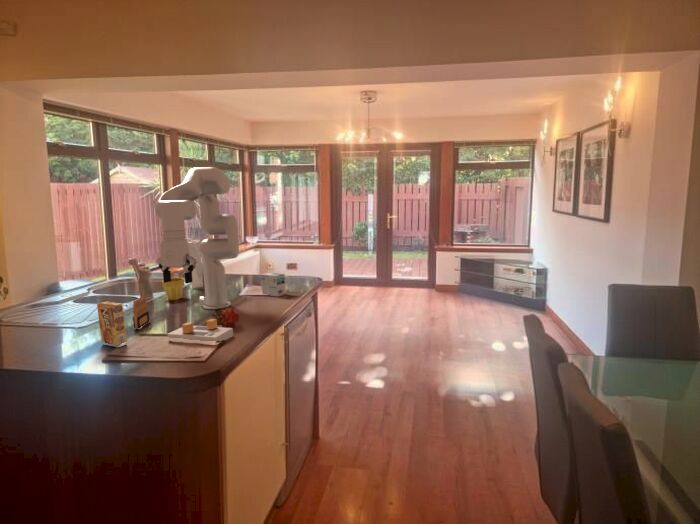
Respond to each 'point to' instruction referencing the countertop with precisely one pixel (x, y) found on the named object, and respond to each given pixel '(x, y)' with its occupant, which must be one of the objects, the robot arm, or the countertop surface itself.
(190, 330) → the switch tab
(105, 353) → the countertop surface
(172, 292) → the plant pot
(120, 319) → the candy box
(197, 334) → the switch panel
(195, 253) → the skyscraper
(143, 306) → the orange flat piece
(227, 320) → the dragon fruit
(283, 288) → the light bulb box
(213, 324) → the switch tab
